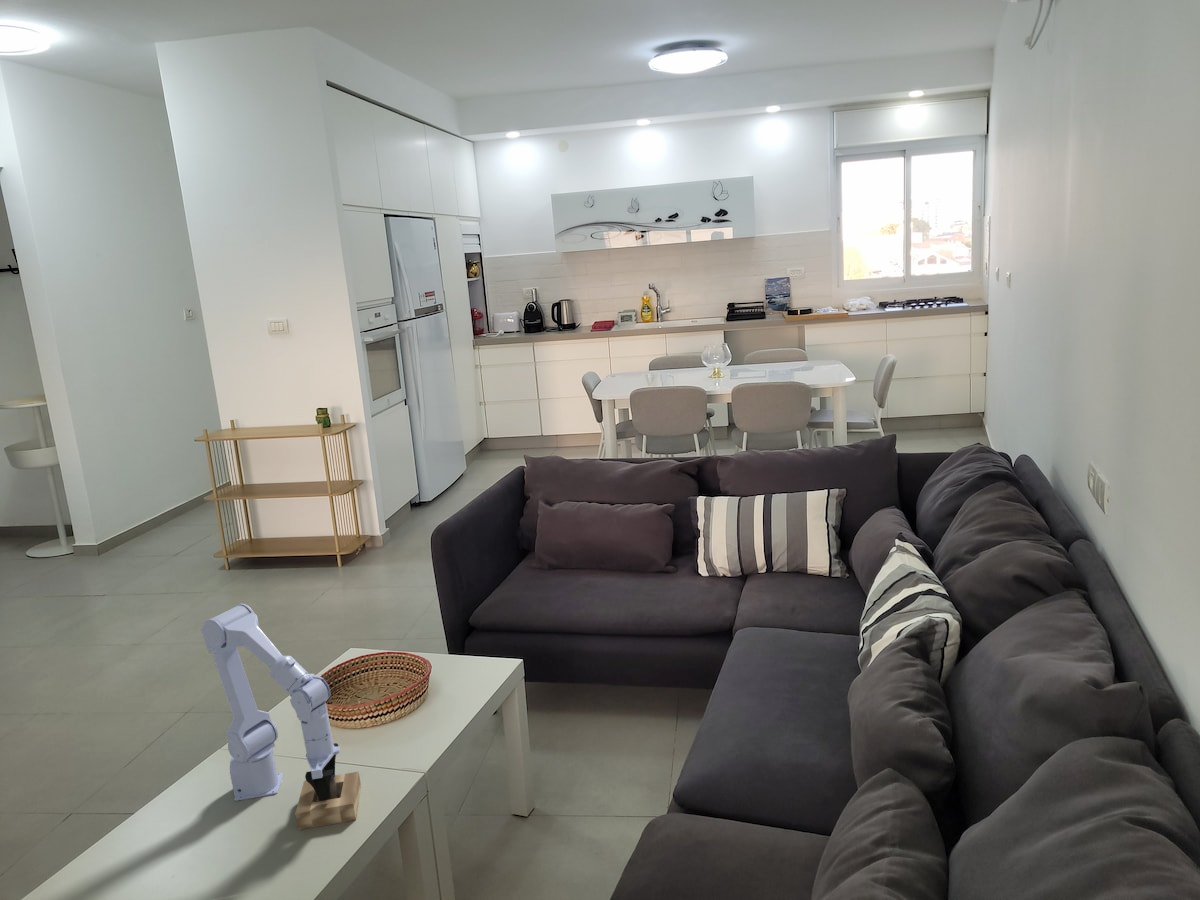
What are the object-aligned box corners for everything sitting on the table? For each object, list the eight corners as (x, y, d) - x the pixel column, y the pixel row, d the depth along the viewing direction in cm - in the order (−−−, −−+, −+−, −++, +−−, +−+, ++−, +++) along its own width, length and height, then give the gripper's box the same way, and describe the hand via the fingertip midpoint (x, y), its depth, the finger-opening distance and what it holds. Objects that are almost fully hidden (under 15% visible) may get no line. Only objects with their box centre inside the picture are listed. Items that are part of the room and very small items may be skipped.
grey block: (319, 813, 194) (314, 784, 192) (322, 802, 197) (317, 774, 196) (338, 809, 194) (333, 781, 192) (340, 798, 198) (335, 771, 196)
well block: (298, 830, 189) (295, 813, 188) (307, 796, 201) (304, 780, 200) (356, 819, 191) (353, 803, 190) (361, 786, 203) (358, 771, 202)
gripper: (332, 748, 185) (342, 805, 188) (340, 713, 199) (349, 766, 202) (297, 754, 184) (308, 811, 187) (307, 718, 198) (317, 772, 201)
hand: (327, 788), depth 195 cm, fingers open, 7 cm apart
